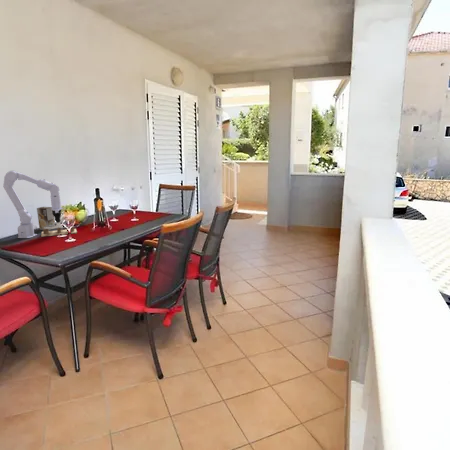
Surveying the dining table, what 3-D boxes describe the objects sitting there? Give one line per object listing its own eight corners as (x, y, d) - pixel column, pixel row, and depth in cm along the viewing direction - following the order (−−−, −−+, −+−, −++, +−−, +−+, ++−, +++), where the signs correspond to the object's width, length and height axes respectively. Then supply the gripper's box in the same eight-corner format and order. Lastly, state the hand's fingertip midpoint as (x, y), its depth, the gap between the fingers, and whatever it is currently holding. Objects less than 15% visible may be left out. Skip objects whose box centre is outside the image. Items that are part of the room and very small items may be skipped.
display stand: (41, 236, 228) (40, 230, 227) (41, 233, 237) (41, 227, 236) (76, 233, 238) (76, 227, 237) (76, 230, 246) (75, 224, 245)
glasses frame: (44, 229, 231) (43, 220, 229) (44, 228, 234) (43, 219, 233) (73, 226, 239) (72, 217, 237) (72, 225, 242) (71, 216, 241)
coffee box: (55, 228, 251) (53, 207, 248) (49, 230, 245) (46, 208, 242) (45, 227, 254) (43, 206, 250) (39, 229, 248) (36, 207, 244)
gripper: (62, 203, 228) (64, 222, 231) (62, 200, 240) (64, 218, 243) (50, 203, 225) (53, 223, 228) (50, 200, 237) (53, 219, 240)
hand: (58, 221), depth 235 cm, fingers open, 7 cm apart
